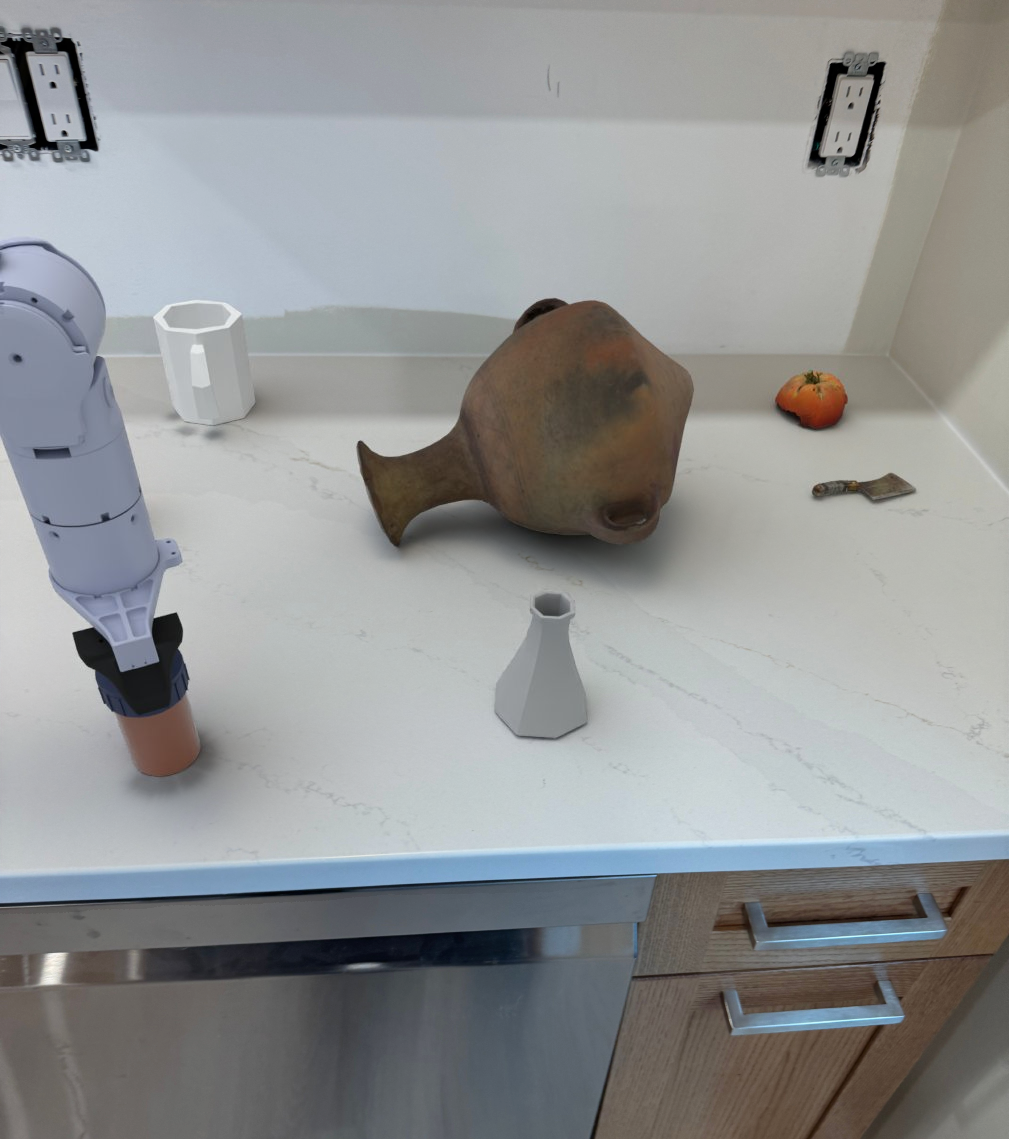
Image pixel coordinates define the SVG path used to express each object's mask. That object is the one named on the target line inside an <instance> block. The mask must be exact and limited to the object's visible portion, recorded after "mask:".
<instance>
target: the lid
mask: <svg viewBox="0 0 1009 1139" xmlns="http://www.w3.org/2000/svg"><path fill="white" fill-rule="evenodd" d="M94 678H95V682H96V684H97V690H98V692H99V695H100V697H101V700H102V703H103V705H106V707H107V708H108V709H109V710H110V711H111V713H114V712H115V713H117V714H119V715H122V716H124V717H125V716H126V717H134V718H140V717H149V716H153V715H156V714H160V713H162V712H164V711H166V710H168V709H170V708H172V707H173V706H174V705H176V704H177V703H178V702H179V701H180V700H181V699H182V698H183V696H184V695H185V693H186V692H187V691H189V682H190V681H191V680H190V676H189V671H188V668H187V664H186V663H185V661H184V656H183V654H182V652H181V650H180V649H179V648H178V649H177V651H176V654H175V656H174V660H173V664H172V694H171V703H170V706H169V707H165V708H162V709H159V710H155V711H152V712H148V713H145V714H142V715H137V714H136V713H135V712H134V711H133V710H132V709H131V708H130V707H129V705H128V704H127V703H126V701H125V700H124V699H123V697H122V696H121V694H120V693H119V691H118V690H117V689H116V687H115V686H114V685H113V684H112V683H111V682H110V681H109V680H108V679H107V678H106V677H105V676H104V675H102V674H101V673H99V672H97V671H96V670H94ZM115 713H114V714H115Z"/></svg>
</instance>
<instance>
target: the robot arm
mask: <svg viewBox="0 0 1009 1139" xmlns="http://www.w3.org/2000/svg"><path fill="white" fill-rule="evenodd" d="M106 319H107V310H106V305H105V299H104V297H103V294H102V292H101V289H100V287H99V286H98V284H97V282H96V281H95V279H94V277H92V275H91V274H90V272H88V270H87V269H86V268H85V267H84V266H83V265H82V264H80V263H79V262H78V261H77V260H75V259H74V258H73V257H71V256H70V255H68V254H67V253H65V252H63V251H61V250H60V249H58V248H57V247H55V246H54V245H53V244H52V243H51V242H49V241H48V240H47V239H42V238H37V237H29V236H17V237H11V238H7V239H2V240H0V439H1V442H2V445H3V446H4V449H5V452H6V455H7V458H8V460H9V463H10V466H11V470H12V471H13V474H14V476H15V479H16V482H17V485H18V487H19V490H20V492H21V496H22V498H23V500H24V503H25V505H26V508H27V511H28V513H29V516H30V520H31V522H32V524H33V527H34V530H35V532H36V536H37V538H38V541H39V543H40V546H41V548H42V551H43V554H44V555H45V559H46V562H47V564H48V578H49V580H50V583H51V586H52V588H53V590H54V592H55V593H56V594H57V595H58V597H59V598H61V599H62V601H64V602H65V603H66V604H67V605H69V606H70V607H71V608H72V609H73V610H74V611H75V612H76V613H77V614H78V615H80V616H81V618H83V619H84V620H85V621H86V622H87V623H88V624H89V625H90V626H91V627H88V628H84V629H80V630H76V631H73V632H71V634H72V637H73V642H74V645H75V646H74V647H75V650H76V652H77V655H78V657H79V658H80V660H81V661H82V662H83V663H84V665H85V666H86V667H87V668H89V669H92V670H94V671H95V670H96V671H97V672H99V673H101V674H102V675H104V676H105V677H106V678H107V679H108V680H109V681H110V682H111V683H112V684H113V685H114V686H115V687H116V689H117V690H118V691H119V693H120V694H121V696H122V697H123V699H124V700H125V701H126V703H127V704H128V705H129V707H130V708H131V709H132V710H133V711H134V712H135V713H136V714H137V715H142V714H145V713H148V712H152V711H155V710H159V709H162V708H165V707H169V706H170V703H171V694H172V664H173V660H174V656H175V654H176V651H177V649H179V648H180V646H181V644H182V643H183V639H184V627H183V624H182V621H181V619H180V616H179V614H178V612H177V611H176V612H172V613H168V614H163V615H159V616H156V617H155V614H156V609H157V606H158V600H159V597H160V593H161V592H160V591H161V588H162V583H163V580H164V575H165V572H166V571H167V570H168V569H171V568H176V567H178V566H180V565H182V563H183V557H182V554H181V550H180V548H179V546H178V543H177V540H175V539H173V538H170V537H169V538H161V539H155V538H156V537H155V535H154V534H155V533H154V530H153V527H152V524H151V519H150V516H149V512H148V508H147V505H146V504H147V503H146V500H145V496H144V493H143V490H142V486H141V482H140V478H139V474H138V470H137V467H136V463H135V459H134V455H133V452H132V448H131V444H130V441H129V436H128V434H127V429H126V425H125V421H124V418H123V414H122V410H121V407H120V406H119V404H118V402H117V400H116V397H115V393H114V388H113V385H112V381H111V378H110V374H109V371H108V367H107V363H106V359H105V358H104V357H103V356H100V355H98V352H99V349H100V346H101V344H102V341H103V338H104V335H105V331H106V321H107V320H106Z"/></svg>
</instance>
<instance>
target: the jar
mask: <svg viewBox="0 0 1009 1139" xmlns="http://www.w3.org/2000/svg"><path fill="white" fill-rule="evenodd" d="M113 713H114V715H115V719H116V721H117V724H118V727H119V730H120V732H121V735H122V738H123V740H124V743H125V745H126V749H127V751H128V754H129V756H130V760H131V762H132V764H133V766H134V767H135V768H136V770H138V771H139V772H140V773H143V774H144V775H148V776H152V777H167V776H171V775H174V774H177V773H180V772H182V771H184V770H186V769H187V768H189V766H191V765H192V764H193V763H194V762H195V761H196V759H197V758H198V757H199V755H200V751H201V744H202V743H201V740H200V736H199V732H198V729H197V725H196V721H195V718H194V714H193V711H192V707H191V704H190V700H189V697H188V692H187V691H186V693H185V695H184V696H183V698H182V699H181V700H180V701H179V702H178V703H177V704H176V705H174V706H173V707H172V708H170V709H168V710H166V711H164V712H162V713H160V714H156V715H153V716H149V717H140V718H134V717H126V716H125V717H124V716H122V715H119V714H117V713H115V712H113Z"/></svg>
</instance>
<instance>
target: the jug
mask: <svg viewBox="0 0 1009 1139" xmlns="http://www.w3.org/2000/svg"><path fill="white" fill-rule="evenodd" d="M694 393H695V387H694V381H693V378H692V375H691V374H690V372H689V371H688V369H687V368H686V367H684V366H683V365H681V364H679V363H678V362H677V361H675V360H674V359H673V358H671V357H670V356H668V355H667V354H665V353H664V352H663V351H661V350H660V349H659V348H658V347H657V346H655V345H654V344H653V343H652V342H651V341H650V340H649V339H647V338H646V337H645V336H644V335H642V334H641V333H640V331H639V330H637V328H636V327H634V326H633V325H632V324H631V323H630V322H629V321H628V320H627V319H626V317H624V315H621V314H620V312H618V311H617V310H616V309H615V308H613V307H612V306H611V305H610V304H608V303H606V302H604V301H600V300H595V299H594V300H582V301H576V302H573V303H568V302H566V301H565V300H562V299H559V298H556V297H550V298H543V299H541V300H538V301H535V303H533V304H531V305H530V306H529V307H528V308H527V309H526V310H524V312H523V313H522V314H521V316H520V317H519V318H518V320H517V321H516V322H515V324H514V326H513V330H512V332H511V334H510V335H509V336H507V337H506V338H505V339H504V340H503V342H501V343H500V345H499V346H497V348H495V349H494V351H493V352H492V353H491V354H490V355H489V356H488V357H487V358H486V359H485V361H484V362H483V363H482V364H480V366H479V368H478V369H477V370H476V371H475V373H474V375H473V376H472V377H471V379H470V381H469V383H468V385H467V387H466V389H465V392H464V394H463V395H462V396H463V397H462V400H461V404H460V410H459V415H458V418H457V420H456V423H455V425H454V426H453V427H452V428H451V429H450V431H449V432H448V433H446V435H444V436H442V438H440V439H439V440H436V441H435V442H433V443H431V444H430V445H427V446H425V447H423V448H421V449H418V450H415V451H412V452H409V453H407V454H402V455H395V456H386V455H385V456H384V455H382V454H379V453H377V452H375V451H373V450H372V449H371V448H370V447H369V446H368V445H367V444H366V442H364V441H363V440H360V439H359V440H358V441H357V443H356V448H355V449H356V457H357V464H358V465H359V473H360V475H361V477H362V481H363V483H364V487H365V491H366V495H367V498H368V501H369V503H370V505H371V507H372V510H373V512H374V515H375V517H376V519H377V522H378V525H379V527H380V529H381V531H382V532H383V533H384V535H385V536H386V538H387V540H388V541H389V543H391V544H392V545H393V546H394V547H398V546H399V545H400V544H401V541H402V537H403V535H404V532H405V530H406V528H407V527H408V525H409V524H410V523H411V521H412V520H414V519H415V518H416V517H417V516H419V515H420V514H422V513H425V512H427V511H429V510H432V509H434V508H436V507H439V506H444V505H447V504H453V503H457V502H461V501H479V502H483V503H486V504H489V505H490V506H491V507H493V509H495V510H496V511H497V512H498V513H499V514H500V515H501V516H503V517H504V518H506V519H507V520H508V521H511V523H514V524H515V525H517V526H519V527H523V528H525V529H527V530H531V531H536V532H540V533H545V534H551V535H559V536H560V535H561V536H589V535H591V536H593V537H595V538H596V539H598V540H600V541H601V542H605V543H610V544H615V545H631V544H636V543H639V542H642V541H645V540H647V539H648V538H649V537H651V535H653V533H654V532H655V531H656V530H657V527H658V525H659V522H660V518H661V509H662V508H663V507H665V506H666V504H667V503H668V502H669V500H670V498H671V496H672V493H673V490H674V489H673V488H674V484H675V480H676V473H677V467H678V462H679V457H680V451H681V448H682V442H683V436H684V432H685V427H686V423H687V420H688V417H689V413H690V409H691V406H692V402H693V397H694ZM642 521H643V522H642Z"/></svg>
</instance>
